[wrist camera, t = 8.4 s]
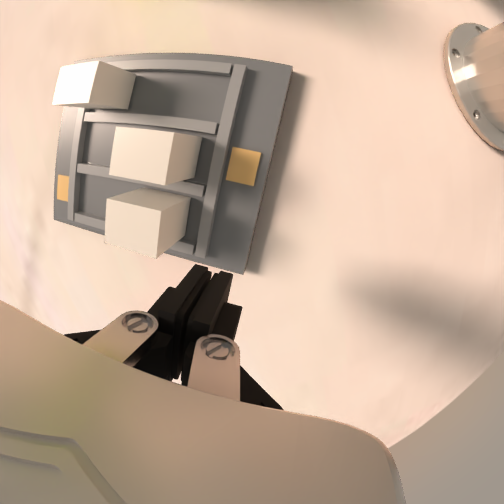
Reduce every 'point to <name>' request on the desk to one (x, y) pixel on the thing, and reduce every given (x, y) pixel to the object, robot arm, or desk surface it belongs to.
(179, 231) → the tab
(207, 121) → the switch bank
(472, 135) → the desk surface
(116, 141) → the tab
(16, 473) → the robot arm
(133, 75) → the tab
